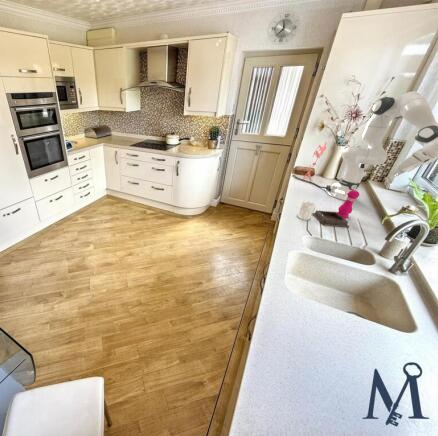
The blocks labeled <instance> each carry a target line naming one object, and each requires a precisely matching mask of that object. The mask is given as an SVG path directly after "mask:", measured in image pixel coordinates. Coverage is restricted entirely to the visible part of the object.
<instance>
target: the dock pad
mask: <svg viewBox="0 0 438 436" xmlns="http://www.w3.org/2000/svg"><path fill="white" fill-rule="evenodd" d="M337 212H338V211H327V210H316V209H315V212H313V213H312V215H311V216H313V217H315V219H316V220H317V221H318V222H319V223H320V224H322V226H328V227H337V228H338V227H339V228H350V225H349V220H347V219H346V218H343V217H342V216H341V215H339V214H338V213H337Z"/></svg>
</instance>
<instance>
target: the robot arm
mask: <svg viewBox="0 0 438 436" xmlns="http://www.w3.org/2000/svg"><path fill="white" fill-rule="evenodd" d="M371 111H372V115H371V117H370V118H369V120H368V122H367V124H366V127H365V128H364V130H363V133H362V136H361V140H362V141H363V142H364V143H365V144H366V145H367V147H362V146H361V147H360V146H347V148H345V149H344V150H343V151H342V153H341V158H342V160H343V162H344V163H345V165H346V169H345V172H344V175H343V177H341V178H339V181H338V182H335V183H332V184H331V185H328V184H327V185H326V186H320V185H318V184H316V183H314V182H312V181H310V180H306V179H304V178H300V177H297V176H296V175H295V174H292V175H291V177H294V178H295V179H297V180H300V181H303V182H305V183H309V184H312V185H315V186H316V187H318V188H320V189H324V191H325V192H326V193H327V194H328V196H329V197H330V198H331V197H332V198H335V199H338V200H342V201H346V198H347V196H348V195H347V193H348V192H349V191H351V190H354V189H358V190H359V187H360V186H361V182H362V180H363V178H364V176H365V173H366V172H365V170H364V169H363V168H361V167H360V164H363V165H370V166H371V165H372V166H373V165H374V166H375V165H376V166H377V165H382V164H384V163H385V162H386V161H387V159H388V152H387V151H386V150H385V148H384V146H383V139H384V136H385V133H386V132H387V129H388V126H389V125H390V122H391V120H393V119H394V118H395V119H396V120H399V119H402V118H403V119H404V120H405V121H407V122H408V123H410V124H412V125H413V126H414V127H416V128H418V129H419V130H418V131H417V132H416V133H415V134H414V140H415V142H416V143H418V144H419V145H420V146H421V147H419V148H418V149H417V150H415V151H414V152H412V153H411V155H409V156H408V157H406V158H405V159H404V160H403V161H401V162H400V163H399V164H397V168H396V169H394V170H393V171H392V172H390V175H391V176H392V177H393V176H395V177H399V176H401V175H402V174H405V173H406V172H407V173H410V172H412V171H414V170H415V169H417V168H418V167H421V166H423V165H424V164H425V165H429V164H431V163H433V162H434V161H436V160H437V159H438V122H437V120H436V118H435V116H434V114H433V111H432V108H431V106H430V104H429V102H428V100H427V99H426V97H425V96H424V95H422V94H421V93H420V92H418V91H413V90H412V91H408V92H405V93H404V94H402V95H400V97H391V96H387V97H385V96H384V97H381V98H379V99H378V100H376V101H375V102H374V104H373V105H372V108H371ZM303 179H304V180H303ZM358 190H357V191H358ZM358 192H359V191H358Z"/></svg>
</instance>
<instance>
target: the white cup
mask: <svg viewBox="0 0 438 436" xmlns="http://www.w3.org/2000/svg"><path fill="white" fill-rule="evenodd" d="M316 208H317V204H315V203H314V202H312V201H311V202H310V201H306V200H305V201H302V202H301V205H300V207H299V210H298V214H297V217H298V218H299V219H300V220H304V221H308V220H310V218H311V217H312V216H313V215H312V213H315V212H314V211H316Z"/></svg>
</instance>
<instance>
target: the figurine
mask: <svg viewBox="0 0 438 436" xmlns="http://www.w3.org/2000/svg"><path fill="white" fill-rule="evenodd" d="M327 144H328V142H327V141H324V143H323V145H321V144H319V145H318V147H317V148H316V149H315V151H314V152H313V155H312V157H314V156H315V157H316V160H315V162H312V164H310V165H309V168H310V169H309V171H307V173H306V174H305V175H303V178H302V179H303V180H306V179H307V177H308V179H309V182H312V180H311V175H312V174H311V171H312V169H313V167H312V166H316V165H317V161H318V160H319V159H321V158H320V157H321V156H323V153H324V152H325V150H326V148H327ZM319 151H320V152H319ZM314 178H316V179H317V177H314ZM303 180H302V181H303ZM318 180H319V182H322V180H320V178H318Z"/></svg>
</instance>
